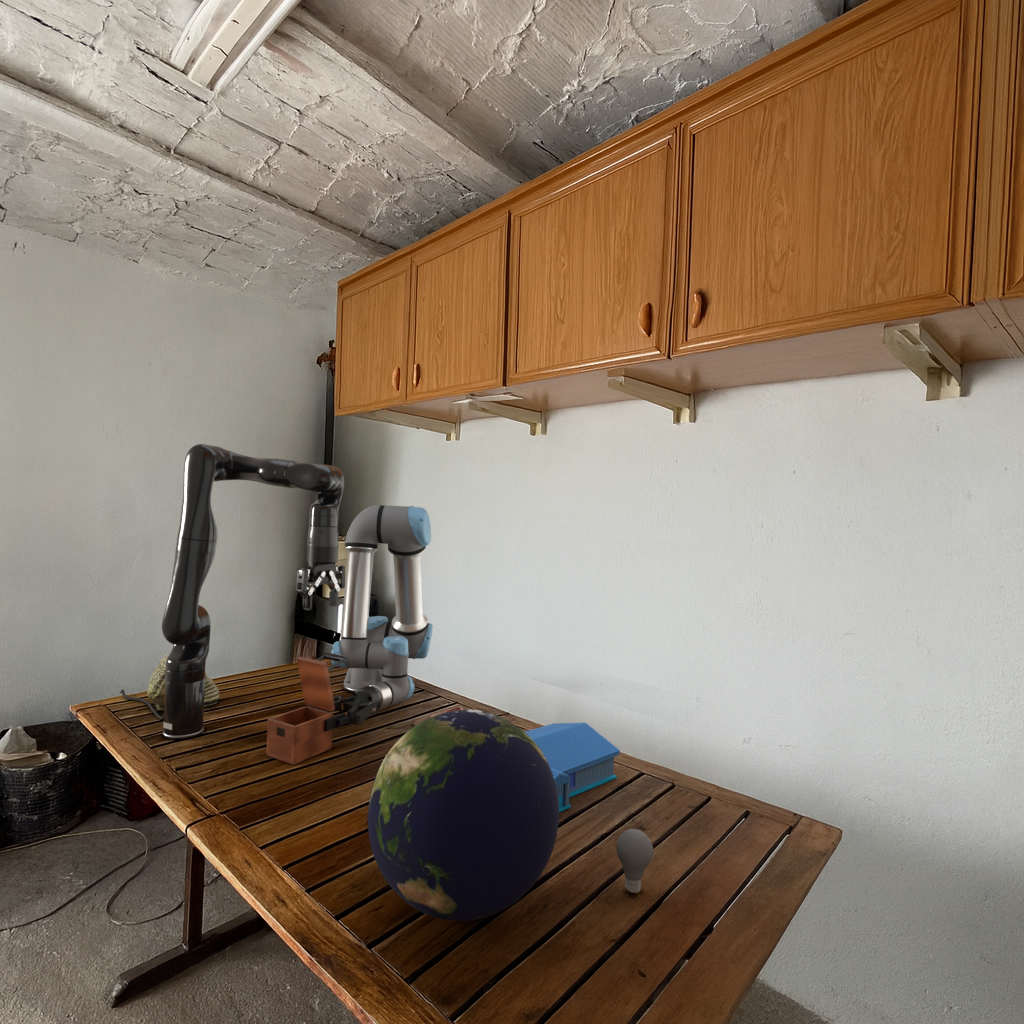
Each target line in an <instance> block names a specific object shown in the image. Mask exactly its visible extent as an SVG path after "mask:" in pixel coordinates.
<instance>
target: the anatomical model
mask: <svg viewBox="0 0 1024 1024" xmlns="http://www.w3.org/2000/svg"><path fill="white" fill-rule="evenodd" d="M457 710H464V708H463V707H462V706H455V707H451V708H447V709H444V710H441V711H439V712H435V713H433V714H429V715H426V716H422V717H420V718H418V719H416V720H415V721H414V722H413V723H412V725H413V726H414V727H415V726H416V725H418V724H419V723H421V722H423V721H425V720H427V719H429V718H431V717H433V716H436V715H439V714H442V713H445V712H450V711H457Z"/></svg>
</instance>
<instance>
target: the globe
mask: <svg viewBox="0 0 1024 1024" xmlns="http://www.w3.org/2000/svg"><path fill="white" fill-rule="evenodd" d="M525 732H526V731H524V730H523V729H521V727H519V726H517V725H516V724H514V723H513V722H511V721H510V720H508V719H506V718H504V717H501V716H499V715H497V714H495V713H492V712H487V711H483V710H479V709H463V710H457V711H450V712H445V713H442V714H439V715H436V716H433V717H431V718H429V719H427V720H425V721H423V722H421V723H419V724H418V725H416V726H415V725H414V726H413V727H412V728H411V729H409V730H408V731H407V732H405V734H403V735H402V736H401V737H400V738H399V739H398V740H397V741H396V742H395V743H394V745H392V747H391V748H390V750H389V751H388V753H387V754H386V755H385V757H384V758H383V760H382V762H381V764H380V766H379V768H378V770H377V772H376V775H375V778H374V780H373V783H372V787H371V791H370V793H369V800H368V801H369V802H368V809H367V829H368V831H367V832H368V838H369V843H370V847H371V852H372V855H373V857H374V860H375V863H376V865H377V867H378V869H379V871H380V873H381V874H382V876H383V878H384V880H385V881H386V883H387V885H389V886H390V888H391V889H392V890H393V891H394V892H395V894H397V896H399V897H400V898H401V900H403V902H405V903H406V904H408V905H409V906H410V907H412V908H414V909H415V910H417V911H419V912H421V913H423V914H425V915H428V916H430V917H432V918H436V919H440V920H443V921H448V922H449V921H450V922H471V921H477V920H482V919H486V918H488V917H491V916H494V915H496V914H499V913H501V912H502V911H505V910H506V909H508V908H510V907H511V906H512V905H514V904H515V903H517V902H518V901H519V900H520V899H521V898H522V897H524V896H525V895H526V894H527V893H528V892H529V891H530V890H531V889H532V888H533V886H534V885H535V884H536V883H537V881H538V880H539V879H540V877H541V876H542V874H543V872H544V870H545V869H546V867H547V865H548V863H549V860H550V858H551V856H552V853H553V851H554V847H555V845H556V840H557V835H558V832H559V823H560V812H559V801H558V793H557V788H556V784H555V780H554V777H553V774H552V771H551V769H550V766H549V764H548V761H547V760H546V758H545V756H544V754H543V753H542V751H541V750H540V748H539V747H538V746H537V744H536V743H535V742H534V741H533V740H532V739H531V738H530V737H529V736H528V735H527V734H526V733H525Z"/></svg>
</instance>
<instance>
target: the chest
mask: <svg viewBox="0 0 1024 1024" xmlns="http://www.w3.org/2000/svg"><path fill="white" fill-rule="evenodd" d="M331 717H334V712H327V711H323V710H320V709H316V708H313V707H310V705H305V706H301V707H299V708H296V709H293V710H290V711H287V712H284V713H282V714H278V715H275V716H272V717H269V718H267V727H266V728H267V729H266V753H265V754H266V755H265V756H267V757H270V758H273V759H275V760H278V761H281V762H284V763H287V764H290V765H292V766H294V765H297V764H298V763H301V762H304V761H305V760H308V759H311V758H313V757H315V756H317V755H319V754H322V753H324V752H327V751H329V750H331V749H333V729H331V730H329V731H324V725H325V720H326V719H329V718H331Z"/></svg>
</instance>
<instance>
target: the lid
mask: <svg viewBox="0 0 1024 1024" xmlns="http://www.w3.org/2000/svg"><path fill="white" fill-rule="evenodd" d="M324 660H330V661H331V660H333V661H338V662H336V663H335V664H331V665H328V662H326V661H324ZM347 661H348V657H346V656H342V655H337V654H332V653H331V652H327V651H324V652H323V653H322V656H320V657H318V658H316V659H314V658H309V657H304V656H299V657H296V663H297V669H298V674H299V680H300V684H301V690H302V696H303V700H304V705H305V706H309V707H310V706H313V707H317V708H320V709H324V710H328V711H331V713H333V712H332V711H333V710H334V709H335V706H334V700H333V697H334V695H333V690H332V684H331V679H330V677H331V676H330V672H331V671H332V670H333V669H335V668H338V667H337V666H338V665H340V664H341V663H347ZM328 666H329V667H328Z"/></svg>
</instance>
